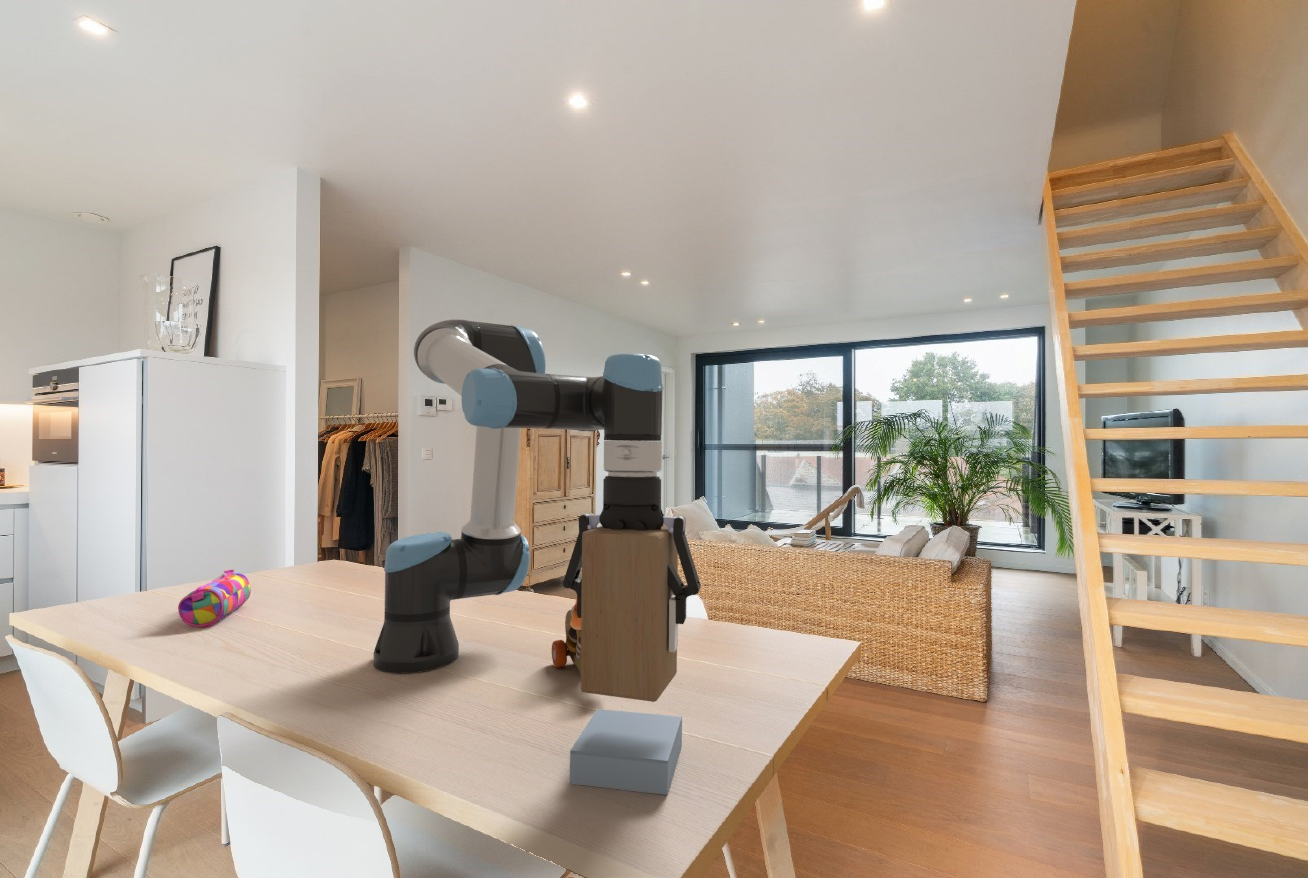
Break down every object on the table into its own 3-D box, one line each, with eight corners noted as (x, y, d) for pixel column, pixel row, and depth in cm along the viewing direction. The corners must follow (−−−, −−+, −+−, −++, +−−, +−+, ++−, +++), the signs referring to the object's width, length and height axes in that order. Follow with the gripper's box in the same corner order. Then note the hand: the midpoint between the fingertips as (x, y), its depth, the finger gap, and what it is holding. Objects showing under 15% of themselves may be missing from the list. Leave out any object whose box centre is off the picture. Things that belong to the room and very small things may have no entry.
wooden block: (608, 666, 85) (609, 522, 85) (677, 674, 82) (678, 525, 83) (578, 693, 76) (580, 531, 76) (656, 703, 73) (658, 535, 73)
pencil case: (208, 606, 152) (208, 570, 153) (252, 603, 156) (252, 568, 156) (174, 631, 132) (175, 590, 132) (226, 627, 135) (227, 586, 136)
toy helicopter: (590, 655, 120) (591, 585, 120) (630, 695, 101) (631, 611, 101) (549, 661, 116) (550, 588, 116) (582, 703, 97) (583, 617, 98)
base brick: (569, 783, 74) (570, 750, 74) (597, 737, 86) (597, 708, 86) (667, 795, 72) (667, 760, 72) (681, 746, 84) (682, 716, 84)
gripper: (538, 474, 78) (535, 648, 78) (718, 477, 74) (717, 662, 73) (557, 471, 85) (556, 631, 85) (723, 474, 81) (722, 642, 81)
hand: (630, 645), depth 79 cm, fingers closed on wooden block, 10 cm apart
